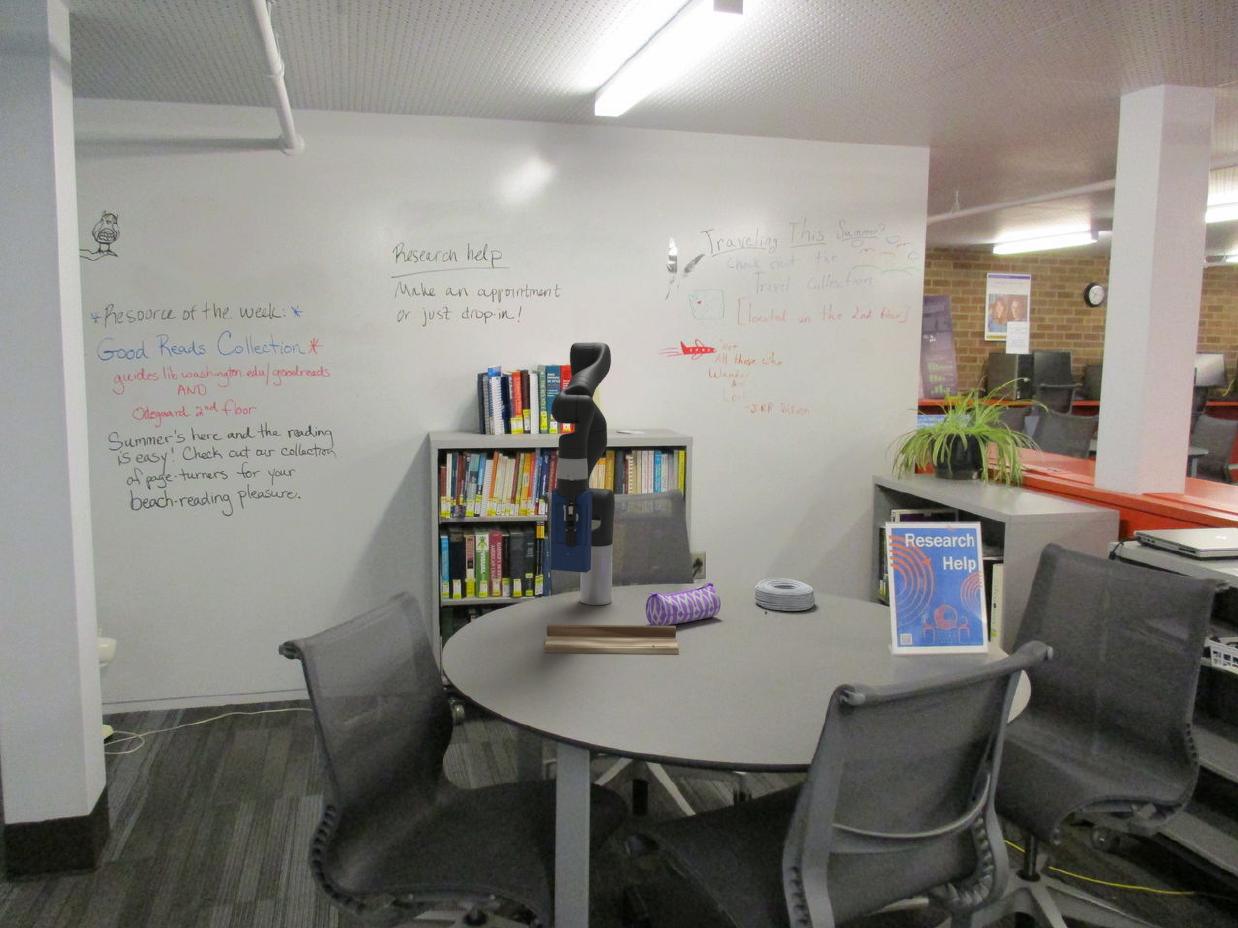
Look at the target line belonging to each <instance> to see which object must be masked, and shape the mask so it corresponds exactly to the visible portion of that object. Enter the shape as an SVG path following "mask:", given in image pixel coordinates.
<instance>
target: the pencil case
mask: <svg viewBox="0 0 1238 928" xmlns="http://www.w3.org/2000/svg"><path fill="white" fill-rule="evenodd" d="M647 594H649V596H648V598H647V599H646V602H645V603H646V604H645V615H646V619H647V621H648V623H649V624H650V625H651V626H673V625H677V624H683V623H688V622H694V621H698V620H703V619H708V618H709V619H710V618H713V617H715V616H717V615H718V614H719V613H720V611H721V599H720V595H719V593H718V592H717V590H716V589H715V588H714V583H712V582H707V583H704V584H703V585H701V586H697V587H695V588H692V589H688V590H683V591H679V592H678V591H677V592H673V593H663V594H662V593H659V592H647Z"/></svg>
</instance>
